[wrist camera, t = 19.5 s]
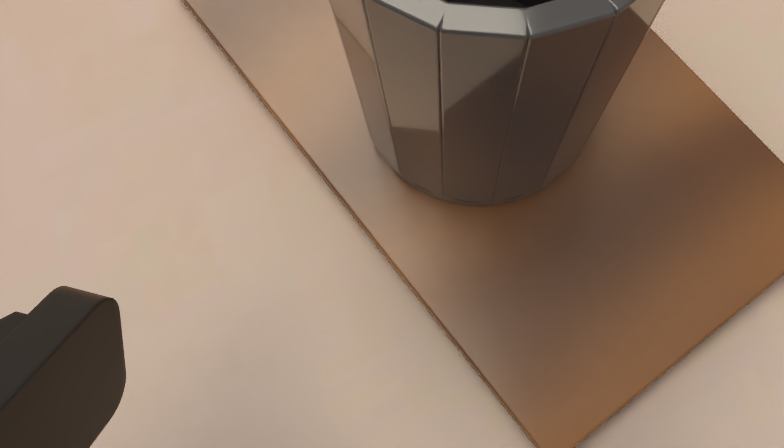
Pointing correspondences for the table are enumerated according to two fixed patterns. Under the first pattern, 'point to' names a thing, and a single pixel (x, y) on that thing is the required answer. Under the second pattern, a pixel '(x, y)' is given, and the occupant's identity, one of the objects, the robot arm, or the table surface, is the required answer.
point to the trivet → (545, 222)
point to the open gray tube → (487, 86)
